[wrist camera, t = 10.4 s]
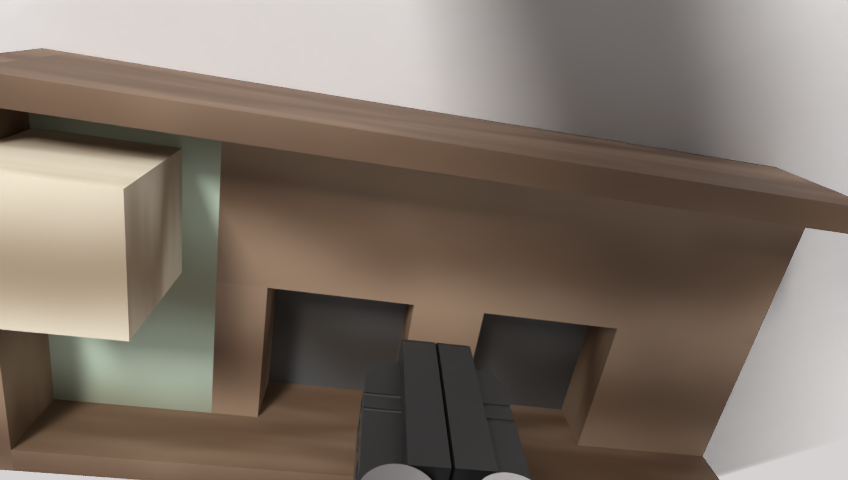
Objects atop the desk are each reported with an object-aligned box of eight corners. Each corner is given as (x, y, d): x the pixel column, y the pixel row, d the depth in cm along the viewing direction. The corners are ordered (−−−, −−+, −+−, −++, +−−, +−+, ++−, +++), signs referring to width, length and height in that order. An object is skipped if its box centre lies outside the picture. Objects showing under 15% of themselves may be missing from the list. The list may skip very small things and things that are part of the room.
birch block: (33, 127, 20) (-74, 164, 15) (182, 148, 20) (123, 189, 16) (46, 257, 21) (-46, 325, 17) (181, 272, 22) (129, 341, 17)
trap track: (42, 48, 21) (-77, 62, 16) (775, 167, 25) (885, 211, 20) (66, 374, 27) (-15, 468, 21) (667, 430, 31) (729, 522, 25)
